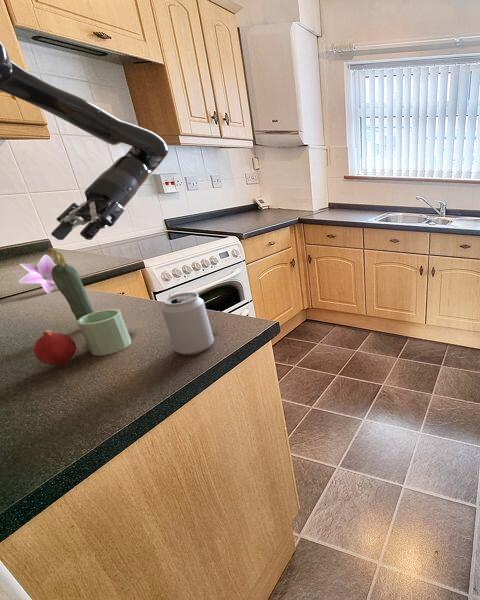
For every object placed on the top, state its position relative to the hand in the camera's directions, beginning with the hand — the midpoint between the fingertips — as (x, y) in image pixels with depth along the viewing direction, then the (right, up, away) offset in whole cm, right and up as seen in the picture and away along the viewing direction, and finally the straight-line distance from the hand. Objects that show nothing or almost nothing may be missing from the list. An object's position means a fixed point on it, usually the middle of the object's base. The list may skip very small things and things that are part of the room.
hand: (70, 237), depth 76 cm
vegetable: (-2, -21, +6) cm, 22 cm away
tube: (+11, -24, -2) cm, 27 cm away
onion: (+7, -27, -8) cm, 29 cm away
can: (+30, -25, -2) cm, 39 cm away
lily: (-35, -11, +30) cm, 47 cm away
